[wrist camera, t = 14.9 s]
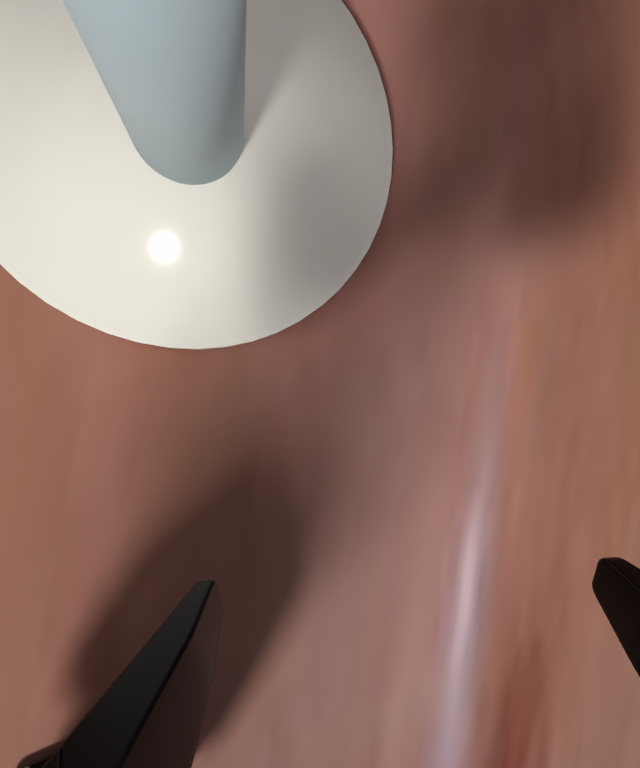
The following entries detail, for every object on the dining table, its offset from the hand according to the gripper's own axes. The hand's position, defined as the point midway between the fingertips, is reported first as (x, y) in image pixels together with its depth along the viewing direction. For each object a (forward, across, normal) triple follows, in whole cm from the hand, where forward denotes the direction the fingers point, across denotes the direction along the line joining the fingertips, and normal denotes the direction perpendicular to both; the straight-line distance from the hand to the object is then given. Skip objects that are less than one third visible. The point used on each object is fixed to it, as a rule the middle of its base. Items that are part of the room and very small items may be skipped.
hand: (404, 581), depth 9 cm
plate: (+15, +7, -12) cm, 20 cm away
